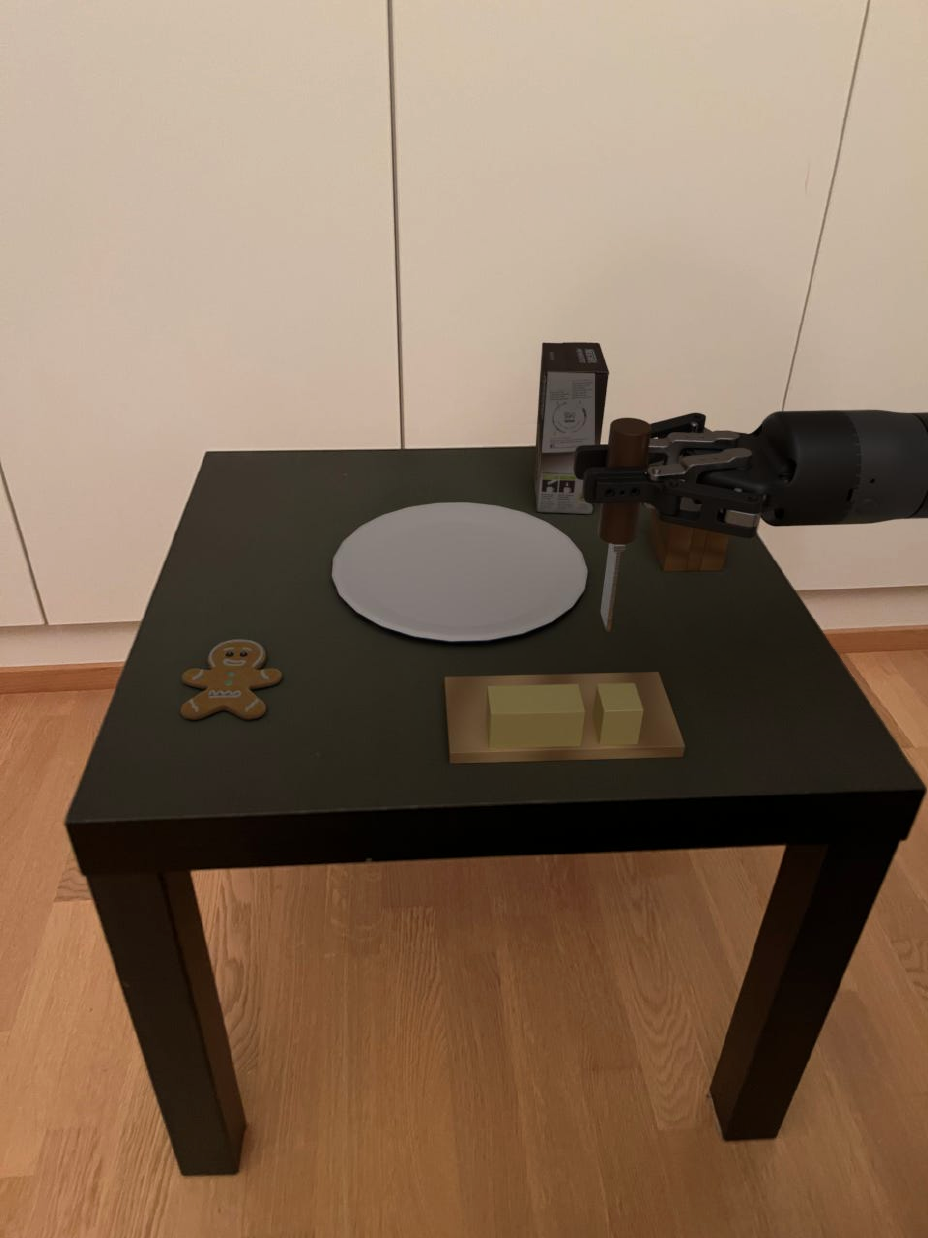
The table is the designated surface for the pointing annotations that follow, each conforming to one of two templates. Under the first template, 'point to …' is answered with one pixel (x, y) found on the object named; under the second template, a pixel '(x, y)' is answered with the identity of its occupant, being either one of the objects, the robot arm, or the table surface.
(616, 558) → the knife
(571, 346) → the coffee box
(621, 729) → the butter slice
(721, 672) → the table surface
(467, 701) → the cutting board
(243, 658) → the cookie
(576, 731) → the butter
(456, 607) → the plate
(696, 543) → the knife block
